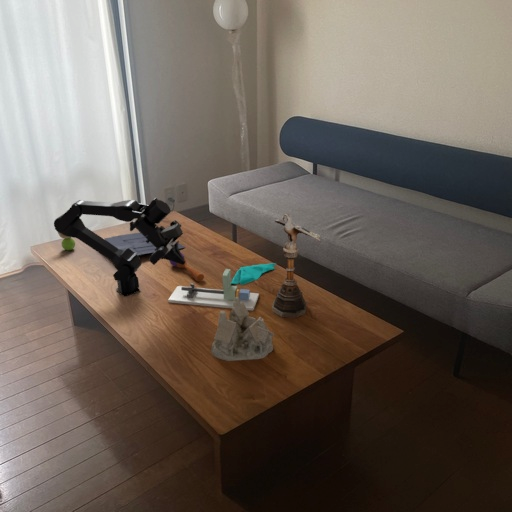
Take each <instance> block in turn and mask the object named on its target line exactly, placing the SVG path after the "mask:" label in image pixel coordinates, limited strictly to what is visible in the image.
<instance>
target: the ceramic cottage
mask: <svg viewBox="0 0 512 512" xmlns="http://www.w3.org/2000/svg"><path fill="white" fill-rule="evenodd" d="M233 307H234V308H231V311H230V313H229V314H228V315H227V312H226V311H224V310H220V311H219V314H218V315H219V316H218V320H217V323H218V324H217V329H216V333H215V335H214V337H213V339H214V341H213V342H212V345H211V350H210V352H211V355H212V356H213V357H214V358H217V359H219V360H223V361H227V362H231V361H232V362H234V361H246V360H247V361H249V360H260V359H264V358H265V357H268V355H269V354H270V353H271V352H272V351H273V350H274V345H273V343H272V342H273V337H274V336H275V333H274V332H272V331H270V330H269V329H270V328H268V326H267V324H266V323H265V321H264V318H262V316H258V318H255V317H253V316H249V315H250V312H249V310H247V309H246V307H245V305H244V303H243V302H242V303H240V301H239V298H238V297H235V298H234V302H233ZM227 316H228V317H227ZM228 318H229V319H228Z"/></svg>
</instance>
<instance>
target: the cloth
mask: <svg viewBox="0 0 512 512" xmlns="http://www.w3.org/2000/svg"><path fill="white" fill-rule="evenodd" d="M275 266H277V263H276V262H273V263H272V262H271V263H259V264H252V265H251V266H250V265H247V266H241V267H239V269H238V270H237V271H236V273H235V275H234V276H233V278H232V279H231V285H238V284H240V286H243V285H246V284H249V283H251V282H254V281H256V280H258V279H260V277H261V276H262V275H263V274H264V273H267V272H269V271H272V270H276V268H275Z"/></svg>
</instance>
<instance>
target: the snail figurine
mask: <svg viewBox="0 0 512 512" xmlns="http://www.w3.org/2000/svg"><path fill="white" fill-rule="evenodd" d="M57 234H58V235H59V237H60V238H62V241H61V247H62V248H63V250H66V251H71V250H73V249H74V248H75V247H76V242H75V239H74V238H73V237H68V236H65V235H63V234H61V233H59V232H57Z"/></svg>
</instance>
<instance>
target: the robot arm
mask: <svg viewBox="0 0 512 512" xmlns="http://www.w3.org/2000/svg"><path fill="white" fill-rule="evenodd" d="M171 211H172V210H171V207H170V206H169V205H168V203H167V202H165V201H163V200H161V199H158V198H157V197H154V199H152V200H151V201H150V203H149V204H146V203H145V204H144V203H140V202H138V201H137V200H136V199H127V200H122V201H116V202H104V201H89V200H83V199H79V200H77V201H75V202H74V203H73V204H71V207H69V209H68V210H66V211H65V212H64V213H63V214H62V215H60V216H58V217H57V218H55V220H54V222H53V226H54V230H56V232H57V233H58V232H59V233H61V234H63V235H65V236H68V237H71V238H73V239H77V240H79V241H80V242H82V243H84V245H86V246H88V247H89V248H91V249H92V250H94V251H95V252H97V253H98V254H100V255H102V256H103V257H104V258H106V259H107V260H108V261H111V262H112V264H113V266H114V268H115V269H116V271H115V272H114V274H112V276H113V279H114V280H115V281H116V282H117V288H116V291H117V292H118V293H119V294H120V295H122V296H123V297H128V296H130V295H133V294H135V293H138V292H141V289H140V283H139V277H138V276H137V273H136V272H137V271H138V270H139V268H140V267H141V266H142V261H141V258H140V255H137V253H135V252H133V251H132V250H131V249H129V248H127V249H126V250H120V249H118V248H117V247H115V246H113V245H112V244H110V243H109V242H107V241H106V240H104V238H103V237H101V236H100V235H99V234H97V233H96V232H94V231H93V230H91V229H89V228H88V227H86V225H85V224H84V222H83V220H82V219H81V216H83V215H85V216H86V215H87V216H89V215H90V216H102V217H112V218H115V219H116V220H118V221H120V222H121V221H123V222H125V223H129V231H130V232H133V231H134V230H135V229H136V230H137V231H138V233H141V234H142V235H143V236H144V237H145V238H146V239H147V240H146V242H147V243H149V242H151V243H152V244H153V245H154V246H155V247H156V249H155V252H153V253H151V255H150V256H149V257H148V259H149V263H151V264H152V266H155V264H157V263H158V262H159V261H160V260H166V261H169V260H170V261H173V262H176V263H179V264H182V265H184V264H185V263H187V261H186V262H185V260H186V259H185V260H184V258H183V256H182V254H183V253H182V252H181V250H180V249H179V248H178V243H179V244H180V241H179V240H178V239H179V238H180V237H181V236H182V235H183V234H184V233H183V230H182V228H181V227H182V224H181V223H179V222H178V221H177V220H176V219H174V220H172V221H171V222H170V224H169V225H168V227H166V228H165V227H164V225H163V226H162V225H161V226H159V225H158V224H160V223H161V222H162V221H164V219H165V218H167V216H169V214H171ZM175 241H176V242H175ZM180 252H181V253H182V254H181V253H180ZM170 261H169V262H170Z"/></svg>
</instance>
